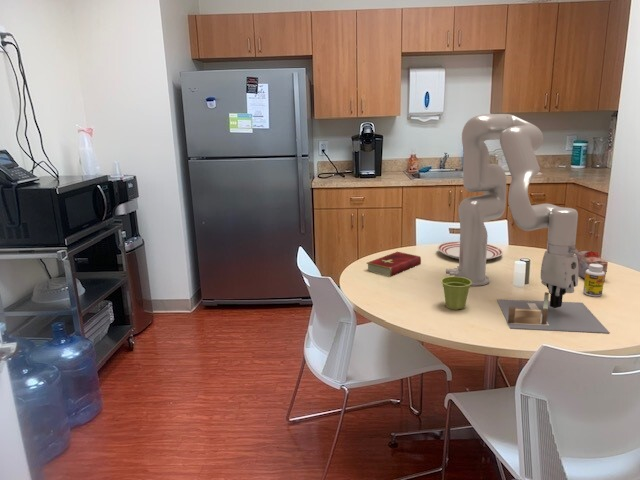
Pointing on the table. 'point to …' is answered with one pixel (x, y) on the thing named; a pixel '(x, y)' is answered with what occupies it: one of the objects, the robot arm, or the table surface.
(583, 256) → the food item
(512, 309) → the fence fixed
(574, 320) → the card
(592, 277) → the supplement bottle
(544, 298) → the bar
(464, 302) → the plant pot
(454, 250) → the dinner plate
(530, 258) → the table surface
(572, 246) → the robot arm
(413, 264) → the hardcover book
